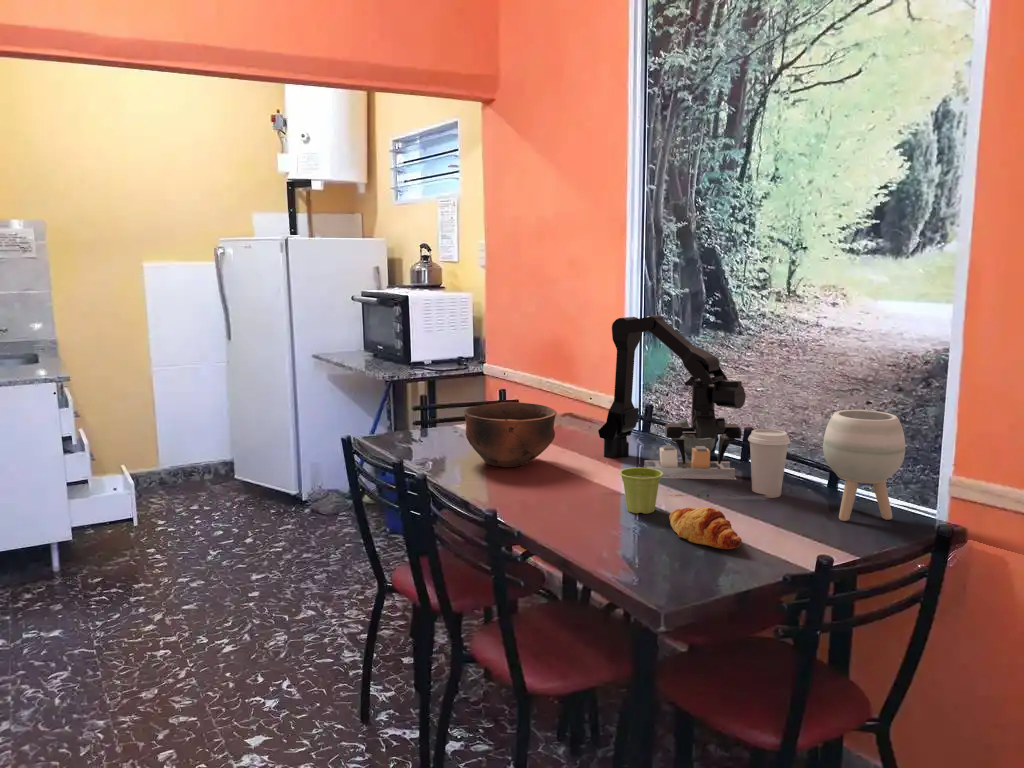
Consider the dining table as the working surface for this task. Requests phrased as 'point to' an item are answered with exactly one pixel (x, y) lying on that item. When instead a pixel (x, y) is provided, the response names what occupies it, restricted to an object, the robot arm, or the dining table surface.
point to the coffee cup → (768, 461)
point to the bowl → (509, 431)
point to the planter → (864, 453)
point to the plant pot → (641, 488)
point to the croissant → (704, 527)
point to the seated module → (668, 456)
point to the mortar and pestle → (694, 440)
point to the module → (700, 457)
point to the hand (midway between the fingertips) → (701, 463)
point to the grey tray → (694, 470)
